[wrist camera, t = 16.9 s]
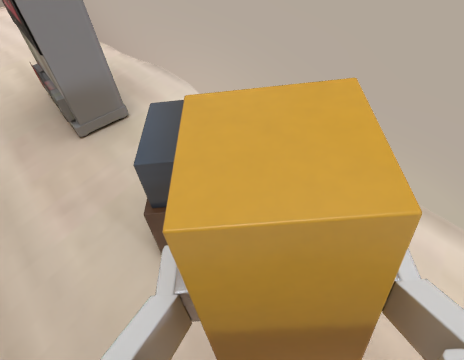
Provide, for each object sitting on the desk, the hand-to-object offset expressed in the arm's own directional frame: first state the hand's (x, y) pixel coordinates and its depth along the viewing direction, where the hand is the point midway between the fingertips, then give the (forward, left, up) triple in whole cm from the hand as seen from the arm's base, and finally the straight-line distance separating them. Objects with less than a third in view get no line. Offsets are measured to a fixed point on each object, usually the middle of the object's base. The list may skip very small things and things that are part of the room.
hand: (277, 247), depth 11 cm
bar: (0, -1, -6) cm, 6 cm away
